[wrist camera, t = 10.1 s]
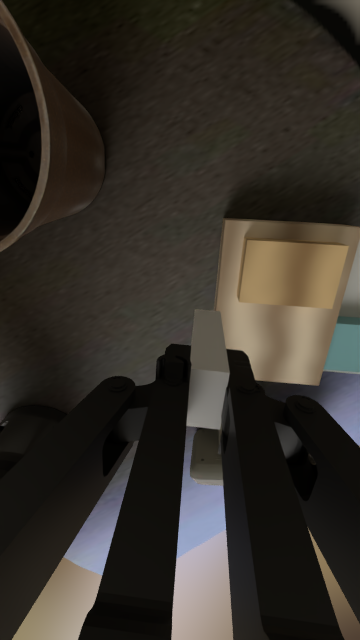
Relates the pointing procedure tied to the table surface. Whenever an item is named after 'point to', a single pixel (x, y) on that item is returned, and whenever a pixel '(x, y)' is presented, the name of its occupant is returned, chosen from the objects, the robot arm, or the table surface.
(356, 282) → the mat
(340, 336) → the teal tile
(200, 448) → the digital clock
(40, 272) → the table surface
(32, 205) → the plant pot
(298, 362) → the platform
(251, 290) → the ochre tile
